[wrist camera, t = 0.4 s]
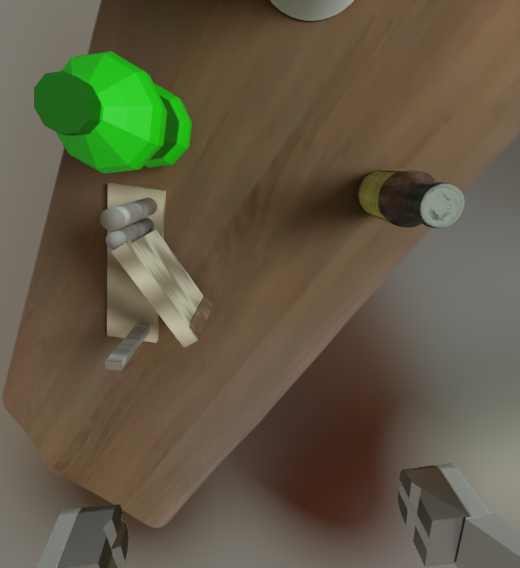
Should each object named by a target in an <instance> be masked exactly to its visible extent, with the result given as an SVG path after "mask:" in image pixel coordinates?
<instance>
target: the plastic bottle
mask: <svg viewBox="0 0 520 568" xmlns="http://www.w3.org/2000/svg"><path fill="white" fill-rule="evenodd" d="M34 89H35V91H34V108H35V109H36V111H37V113H38V115H39V116H40V118H41V120H42V121H43V123H44V125H45V126H47V127H49V128H51V129H53V130H54V131H56V133H57V134H58V136H59V138H60V139H61V141H62V143H63V145H64V147H65V148H66V150H67V152H68V153H69V154H70V155H71V156H72V157H74V158H76V159H78V160H80V161H81V162H83V163H85V164H87V165H89V166H90V167H92V168H94V169H96V170H98V171H99V172H101V173H103V174H104V173H114V172H123V171H131V170H139V169H141V168H142V167H143V166H146V167H158V166H166V165H173V164H174V163H175V162H176V161H177V160H178V159H179V158H180V157H181V156H182V155H183V154H184V153H185V151H186V150H187V149H188V148H189V143H190V135H191V128H192V122H191V120H190V118H189V115H188V113H187V111H186V109H185V107H184V105H183V103H182V101H181V99H180V98H178V97H177V96H175V95H173V94H172V93H170V92H168V91H167V90H165V89H163V88H162V87H160V86H158V85H157V84H154V83H153V81H152V79H151V77H150V75H149V74H148V73H146V72H145V71H143V70H141V69H140V68H138V67H136V66H135V65H133V64H131V63H130V62H128V61H126V60H125V59H123V58H121V57H120V56H118V55H116V54H115V53H113V52H111V51H109V52H103V53H96V54H89V55H82V56H76V57H73V58H71V59H70V60H69V62H68V63H67V64H66V65H65V67H64V68H63V69H62V70H61V71H60V72H53V73H46V74H45V75H44V76H43V77H42V79H41V80H40V81H39V83H38V84H37V85H36V86H35V88H34Z"/></svg>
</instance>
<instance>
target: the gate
mask: <svg viewBox="0 0 520 568" xmlns="http://www.w3.org/2000/svg"><path fill="white" fill-rule="evenodd" d="M153 228H154V223H153V221H152V220H151V219H149V218H144V219H142V220H139V221H137V222H135V223H132V224H130V225H128V226H126V227H123V228H121V229H119V230H116V231H114V232H112V233H110V234H108V235H107V237H106V244H107V246H108V247H109V248H111V249H113V250H114V251H112V253H113V255H114V256H115V257H116V259H117V260H118V261H119V263H120V264H121V265H122V267H123V268H124V269H125V271H126V272H127V273H128V275H129V276H130V277H131V279H132V280H133V281H134V282H135V284H136V285H137V286H138V288H139V289H140V290H141V292H142V293H143V294H144V296H145V297H146V298H147V300H148V301H149V302H150V304H151V305H152V306H153V307H154V309H155V310H156V311H157V313H158V314H159V315H160V317H161V318H162V319H163V321H164V322H165V323H166V325H167V326H168V327H169V329H170V330H171V331H172V332H173V334H174V335H175V336H176V338H177V339H178V340H179V342H180V343H181V344H182V346H183V347H184V348H185V347H187V346H189V345H190V344H192V343H194V342H196V341H197V340H198V338H199V336H200V333H201V331H202V329H203V327H204V324H205V322H206V320H207V318H208V315H209V313H210V311H211V309H212V304H211V303H210V301H209V300H208V299H207V297H206V296H203V295H202V293H201V292H200V290H199V289H198V287H197V286H196V285H195V283H194V282H193V280H192V279H191V278H190V276H189V275H188V273H187V272H186V271H185V269H184V268H183V266H182V265H181V264H180V262H179V261H178V259H177V258H176V257H175V255H174V254H173V252H172V251H171V250H170V248H169V247H168V245H167V244H166V243H165V241H164V240H163V238H162V237H161V236H160V234H159V233H158V231H157V230H154V231H152V230H153ZM150 231H152V232H151V233H149V234H147V233H148V232H150ZM145 234H147V235H145ZM143 235H145V236H144V237H142V238H140V237H141V236H143ZM138 238H140V239H138ZM136 239H138V240H137V241H135V242H133V243H131V242H132V241H134V240H136Z"/></svg>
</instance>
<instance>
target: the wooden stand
mask: <svg viewBox="0 0 520 568" xmlns="http://www.w3.org/2000/svg"><path fill="white" fill-rule="evenodd" d="M165 199H166V191H165V190H158V189H151V188H144V187H137V186H130V185H123V184H116V183H108V209H106V210H104V211H103V212H102V213H101V215H100V222H101V224H102V226H103V227H104V228H105V229H107V235H108V234H110V233H112V232H114V231H116V230H119V229H121V228H123V227H126V226H128V225H130V224H132V223H135V222H137V221H139V220H142V219H144V218H149V219H151V220H152V221H153V223H154V228H153V230H152V231H154V230H157V231H158V233H159V234H160V236H161V237H162V238H163V237H164V218H165ZM152 231H150V232H148V233H147V234H149V233H151V232H152ZM147 234H145V235H147ZM145 235H143V236H141V237H140V238H142V237H144V236H145ZM140 238H138V239H140ZM138 239H136V240H134V241H132V242H131V243H133V242H135V241H137V240H138ZM112 251H114V250H113V249H111V248H109V247H108V246H107V336H112V337H119V338H124V339H123V341H122V342H121V343H120V344H119V345H118V346H117V348H116V349H115V350H114V351H113V352H112V353H111V355H110V356H109V357H108V358H107V359H106V360H105V369H110V370H117V371H121V370H122V369H123V367H124V366H125V364H126V363H127V362H128V360H129V359H130V358H131V356H132V355H133V354H134V352H135V351H136V350H137V348H138V347H139V346H140V344H141V343H142V342H143V341H147V342H154V343H156V342H157V341H158V331H159V314H158V313H157V311H156V310H155V309H154V307H153V306H152V305H151V304H150V302H149V301H148V300H147V298H146V297H145V296H144V294H143V293H142V292H141V290H140V289H139V288H138V286H137V285H136V284H135V282H134V281H133V280H132V279H131V277H130V276H129V275H128V273H127V272H126V271H125V269H124V268H123V267H122V265H121V264H120V263H119V261H118V260H117V259H116V257H115V256H114V255H113V253H112Z"/></svg>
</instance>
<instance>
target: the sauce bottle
mask: <svg viewBox="0 0 520 568" xmlns="http://www.w3.org/2000/svg"><path fill="white" fill-rule="evenodd" d="M358 201H359V203H360V205H361V206H362V207H363V209H364V210H365V211H366V212H367V213H369V214H371V215H373V216H375V217H378V218H380V219H382V220H384V221H387V222H389V223H391V224H394V225H396V226H400V227H415V226H418V225H420V224H424V225H426V226H428V227H432V228H444V227H447V226H450V225H451V224H453V223H454V222H455V221H456V220H457V219H458V218H459V217H460V215H461V213H462V211H463V208H464V197H463V194H462V192H461V191H460V190H459V189H458V188H457V187H456V186H454V185H452V184H449V183H443V182H437V181H436V180H435V179H434V178H433V177H432V176H431V175H429V174H428V173H424V172H421V171H414V170H389V169H382V170H378V171H373V172H371V173H370V174H368V175H367V176H366V177H365V178H364V179H363V181H362V182H361V183H360V185H359V187H358Z"/></svg>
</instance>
